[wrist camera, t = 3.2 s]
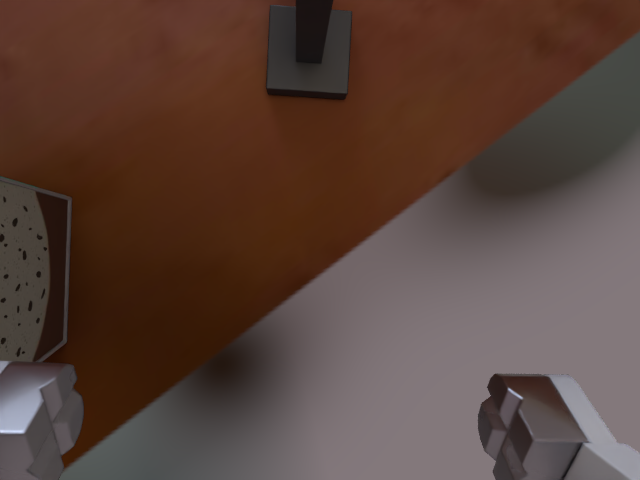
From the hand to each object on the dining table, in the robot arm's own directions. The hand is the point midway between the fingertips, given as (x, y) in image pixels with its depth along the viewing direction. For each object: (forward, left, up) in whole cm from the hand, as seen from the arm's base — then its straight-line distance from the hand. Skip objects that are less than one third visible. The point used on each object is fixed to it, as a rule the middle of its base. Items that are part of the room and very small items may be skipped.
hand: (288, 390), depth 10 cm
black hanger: (-13, +7, -22) cm, 26 cm away
